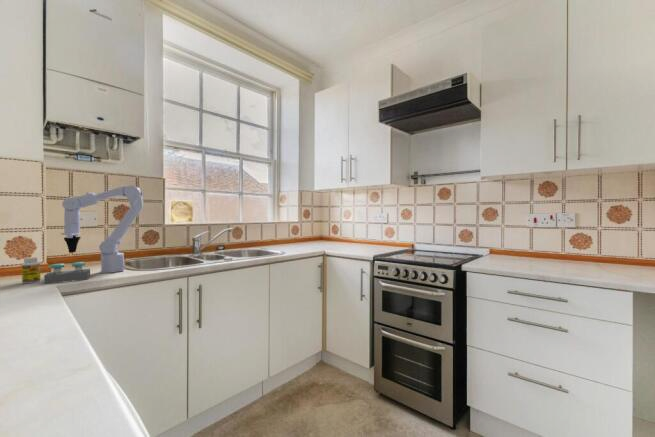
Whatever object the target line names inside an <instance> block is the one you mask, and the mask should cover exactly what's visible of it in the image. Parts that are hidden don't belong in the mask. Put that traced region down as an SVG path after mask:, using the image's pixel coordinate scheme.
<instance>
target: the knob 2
mask: <svg viewBox="0 0 655 437" xmlns="http://www.w3.org/2000/svg"><path fill="white" fill-rule="evenodd" d="M83 266H86V262H85V261H76V262H72V263H71V267H73V268H74V270H75V272H79V271H82V269H83Z"/></svg>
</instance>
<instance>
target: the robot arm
mask: <svg viewBox="0 0 655 437" xmlns="http://www.w3.org/2000/svg"><path fill="white" fill-rule="evenodd" d="M117 196H119V197H126V198H127V199H128V201H129V204H130V207H129V209H128V210H127V211H126V212H125V213H124V215H123V217H122V218H121V220H120V221H119V223H118V224H117V225H116V227H115V228H114V229H113V231H112V233H111V234H109V236H108V237H107V238H106V239H105V240H104V241H102V242H101V243H100V244H99V246H98V248H99V251H100V271H99V274H107V273H108V274H109V273H116V272H124V271H125V267H126V264H125V254H124V252H119V250H118V249H119V248H120V243H121V242H122V239H123V237H124V236H125V234H126V233H127V231H128V230H129V229H130V227H131V226H132V224H133V223H134V221H135V220H136V218H137V217H139V216H138V215H139V214H140V213H141V211H142V210H143V208H144V198H143V197H144V194H143V192H142V190H141V189H140V187H138V186H135V185H132V184H131V185H126V186H120V187H115V188H112V189H110V190H109V189H108V190H106V191H102V192H100V193H95V192H92V191H91V192H89V191H87V192H85V194H82V195H74V197H67V198H65V199H64V200H63V201H62V207H63V209H64V214H63V215H64V216H63V217H64V218H63V219H64V227H63V228H64V229H63V230H64V232H60V235H64V236H66V237H64V238H63V240H64V241H65V243H66V246H67V249H68V253H70V254H71V253H76V251H77V248H78V243H79V241H80V240H81V236H79V235H81V234H82V233H81V209H82V208H88V207H90V206H94V205H97V204H99V202H100V201H102V200H105V199H110V198H113V197H114V198H115V197H117Z"/></svg>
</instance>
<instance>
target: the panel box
mask: <svg viewBox="0 0 655 437" xmlns="http://www.w3.org/2000/svg"><path fill="white" fill-rule="evenodd" d="M90 277H91V268H85V269H84V268H82V271H79V272H75V269H73V270H72V269H71V270H69V269H68V270H61V273H57V274H54V271H50V272H49V271H48V272H47V273H46V274H44V276H43V279H44V281H43V283H44V284H55V283H64V282H63V281H66V282H73V281H72V280H76V281H85V280H89V278H90Z"/></svg>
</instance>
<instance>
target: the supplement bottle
mask: <svg viewBox="0 0 655 437" xmlns="http://www.w3.org/2000/svg"><path fill="white" fill-rule="evenodd" d="M40 281H41V262H39V261H38V257H35V256H34V257H25V258H24V259H23V263H22V264H21V282H22V284H33V283H38V282H40Z"/></svg>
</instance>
